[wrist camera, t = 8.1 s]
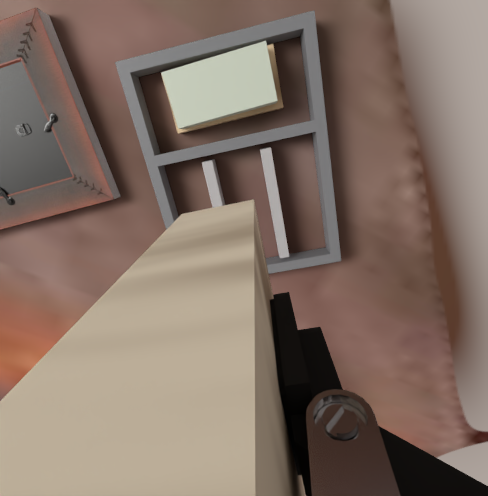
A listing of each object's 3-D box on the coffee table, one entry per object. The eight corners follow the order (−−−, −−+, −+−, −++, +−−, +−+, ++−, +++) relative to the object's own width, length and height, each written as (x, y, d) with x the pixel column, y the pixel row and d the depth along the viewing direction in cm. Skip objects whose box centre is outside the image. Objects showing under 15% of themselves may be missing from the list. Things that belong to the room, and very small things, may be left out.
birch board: (181, 213, 12) (-769, 1198, 1) (253, 199, 12) (259, 1398, 1) (225, 368, 15) (136, 1108, 3) (285, 359, 14) (398, 1138, 3)
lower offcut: (167, 78, 28) (161, 74, 26) (271, 50, 27) (273, 43, 25) (182, 133, 30) (177, 133, 28) (281, 109, 29) (283, 107, 27)
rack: (124, 67, 27) (115, 62, 25) (309, 19, 26) (314, 10, 24) (188, 280, 34) (184, 288, 33) (336, 254, 33) (341, 260, 31)
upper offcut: (167, 77, 26) (161, 72, 24) (265, 47, 25) (265, 40, 23) (183, 129, 28) (178, 128, 26) (275, 103, 27) (277, 100, 25)
